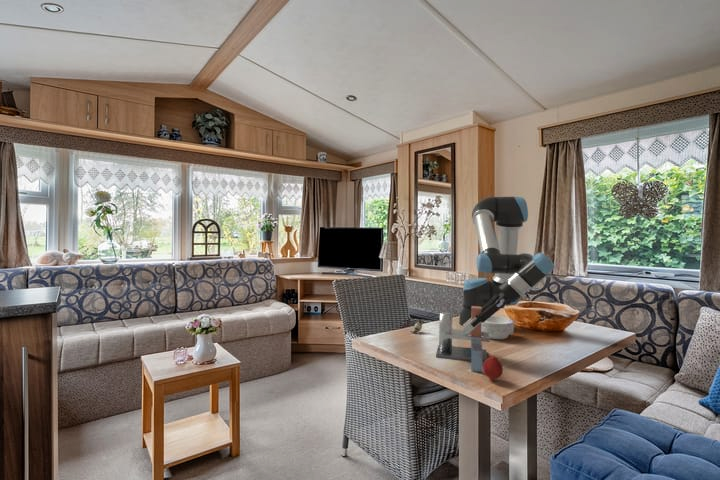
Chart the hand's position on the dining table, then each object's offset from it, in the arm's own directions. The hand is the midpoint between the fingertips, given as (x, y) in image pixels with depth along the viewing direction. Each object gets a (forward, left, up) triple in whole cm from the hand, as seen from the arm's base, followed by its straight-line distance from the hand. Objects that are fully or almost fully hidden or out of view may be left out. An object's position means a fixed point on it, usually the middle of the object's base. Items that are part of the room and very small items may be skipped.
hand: (465, 329), depth 132 cm
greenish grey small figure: (-9, -32, -10) cm, 34 cm away
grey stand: (+5, +2, -10) cm, 11 cm away
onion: (+13, +19, -10) cm, 25 cm away
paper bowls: (-32, -7, -10) cm, 34 cm away
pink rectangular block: (-2, +3, -3) cm, 5 cm away
